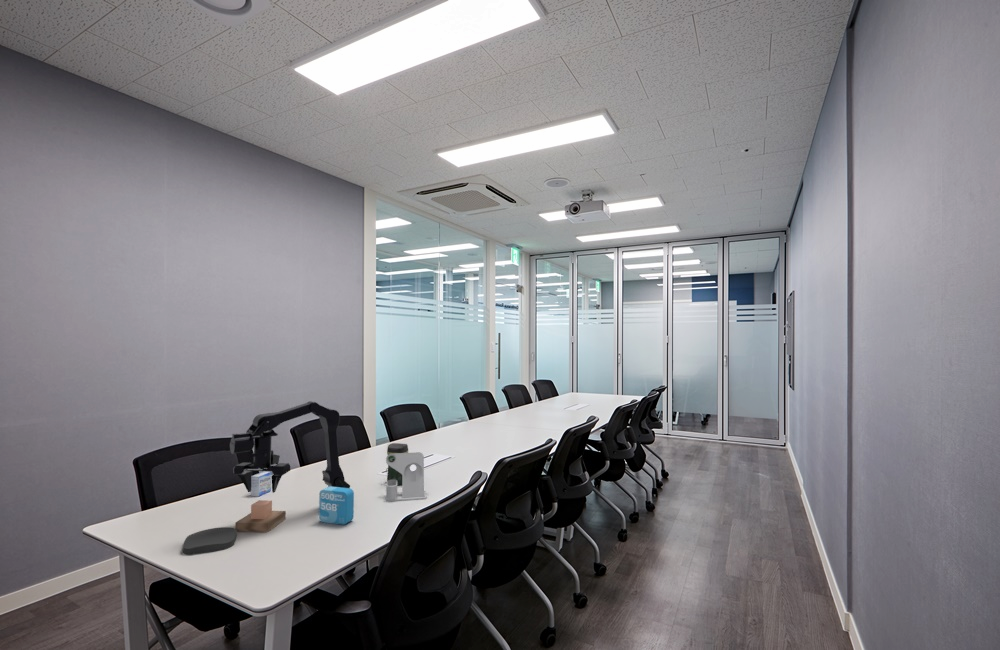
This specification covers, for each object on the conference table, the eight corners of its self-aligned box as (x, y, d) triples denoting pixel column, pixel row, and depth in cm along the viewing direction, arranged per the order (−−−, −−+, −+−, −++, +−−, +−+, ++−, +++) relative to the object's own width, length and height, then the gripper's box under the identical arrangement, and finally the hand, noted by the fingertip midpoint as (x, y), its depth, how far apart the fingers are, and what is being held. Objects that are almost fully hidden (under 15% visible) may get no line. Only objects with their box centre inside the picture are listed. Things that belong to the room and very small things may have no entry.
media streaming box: (179, 557, 146) (180, 548, 146) (189, 539, 160) (189, 530, 160) (233, 549, 152) (233, 540, 152) (238, 532, 166) (238, 524, 166)
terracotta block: (271, 514, 174) (272, 500, 174) (264, 519, 169) (264, 505, 169) (258, 513, 174) (258, 500, 174) (250, 519, 169) (251, 505, 169)
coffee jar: (410, 481, 225) (410, 442, 226) (403, 486, 217) (403, 445, 218) (392, 479, 227) (392, 441, 228) (384, 484, 220) (384, 444, 220)
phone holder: (385, 502, 196) (385, 458, 197) (385, 494, 206) (386, 453, 207) (427, 499, 200) (427, 456, 200) (425, 491, 210) (426, 451, 210)
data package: (318, 521, 175) (319, 489, 175) (326, 517, 179) (326, 485, 179) (346, 525, 171) (347, 492, 172) (353, 520, 176) (354, 488, 176)
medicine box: (258, 497, 202) (259, 476, 202) (249, 496, 203) (250, 476, 203) (271, 491, 210) (271, 471, 210) (262, 490, 211) (262, 471, 211)
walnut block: (285, 519, 177) (285, 511, 177) (268, 531, 165) (268, 523, 165) (254, 518, 178) (254, 510, 178) (235, 531, 166) (235, 522, 166)
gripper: (297, 444, 180) (297, 485, 179) (250, 444, 181) (249, 484, 180) (283, 451, 169) (282, 495, 168) (232, 450, 170) (231, 494, 169)
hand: (261, 492), depth 172 cm, fingers open, 9 cm apart
